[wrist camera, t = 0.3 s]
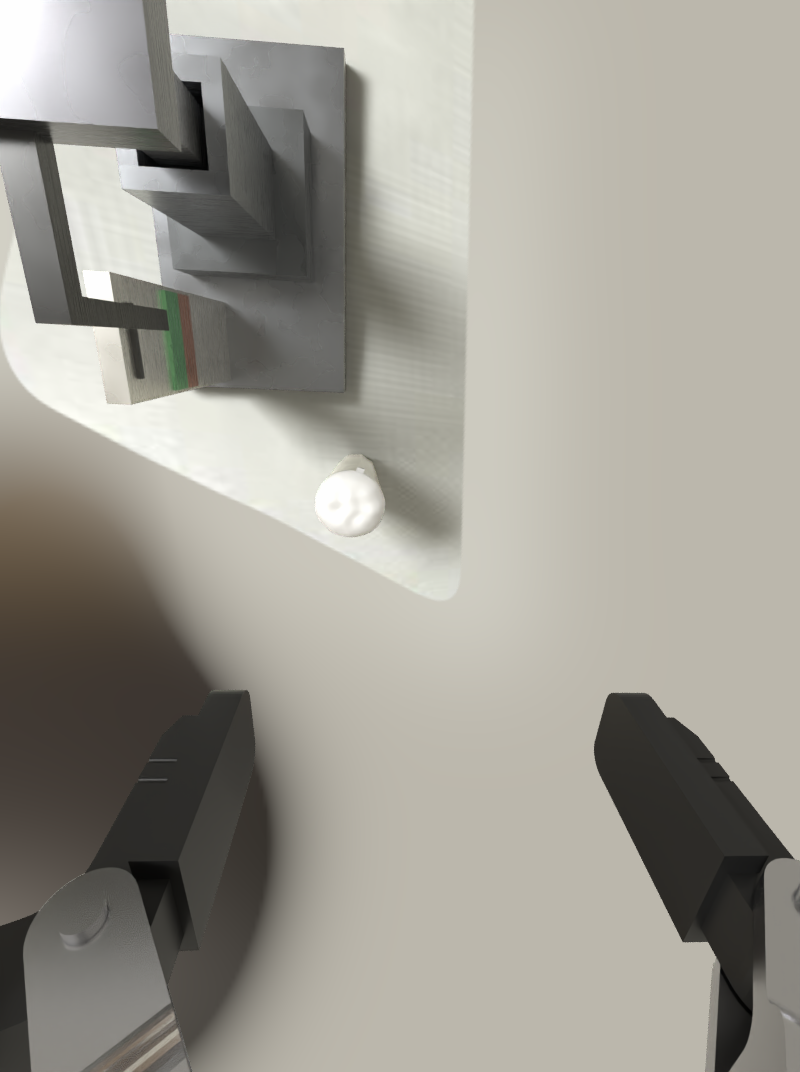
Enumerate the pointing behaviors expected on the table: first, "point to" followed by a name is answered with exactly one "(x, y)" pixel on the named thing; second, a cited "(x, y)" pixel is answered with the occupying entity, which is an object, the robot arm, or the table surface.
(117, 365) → the gauge stand
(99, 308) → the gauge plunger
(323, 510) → the milkshake
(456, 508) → the table surface
